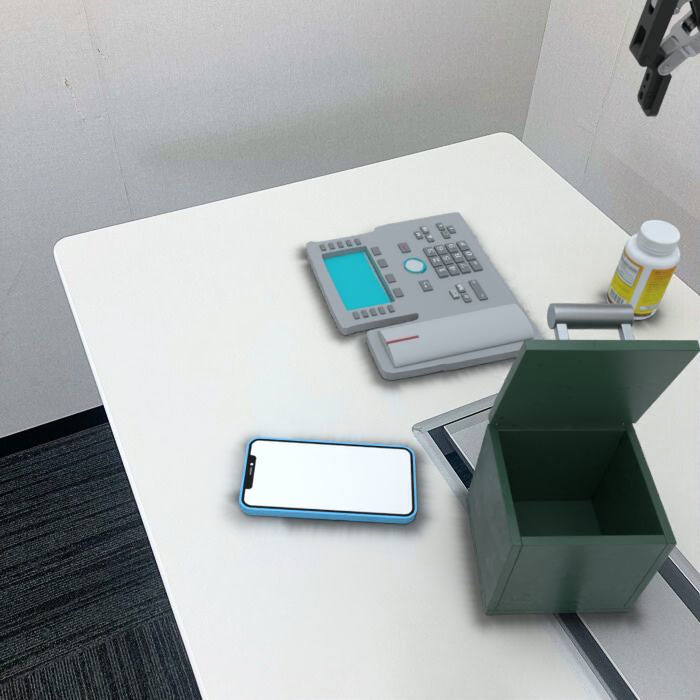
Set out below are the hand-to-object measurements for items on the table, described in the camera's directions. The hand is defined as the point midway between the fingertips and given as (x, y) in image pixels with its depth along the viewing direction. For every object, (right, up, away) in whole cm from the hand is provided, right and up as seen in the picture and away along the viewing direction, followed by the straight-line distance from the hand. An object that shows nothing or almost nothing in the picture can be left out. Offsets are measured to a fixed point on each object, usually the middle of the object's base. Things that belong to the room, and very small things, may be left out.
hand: (697, 113), depth 63 cm
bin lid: (-12, -23, -10) cm, 28 cm away
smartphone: (-31, -32, +3) cm, 44 cm away
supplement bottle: (+2, -15, +21) cm, 26 cm away
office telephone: (-22, -14, +21) cm, 33 cm away
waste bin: (-13, -37, -1) cm, 39 cm away
